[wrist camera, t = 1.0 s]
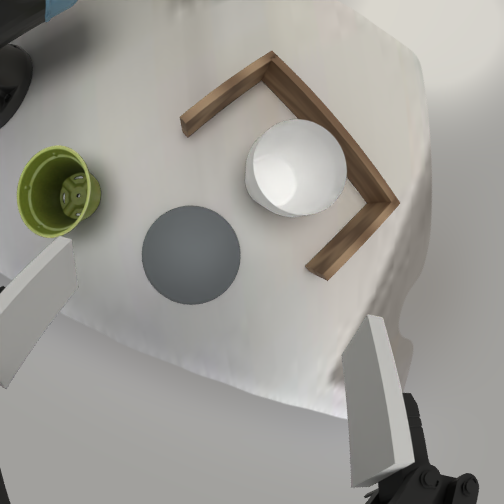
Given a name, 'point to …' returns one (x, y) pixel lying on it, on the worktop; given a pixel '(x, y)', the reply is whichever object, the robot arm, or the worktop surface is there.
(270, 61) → the u-shaped wooden rail
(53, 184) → the plant pot
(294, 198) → the cup
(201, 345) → the worktop surface
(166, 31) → the worktop surface
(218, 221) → the disc
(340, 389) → the worktop surface
